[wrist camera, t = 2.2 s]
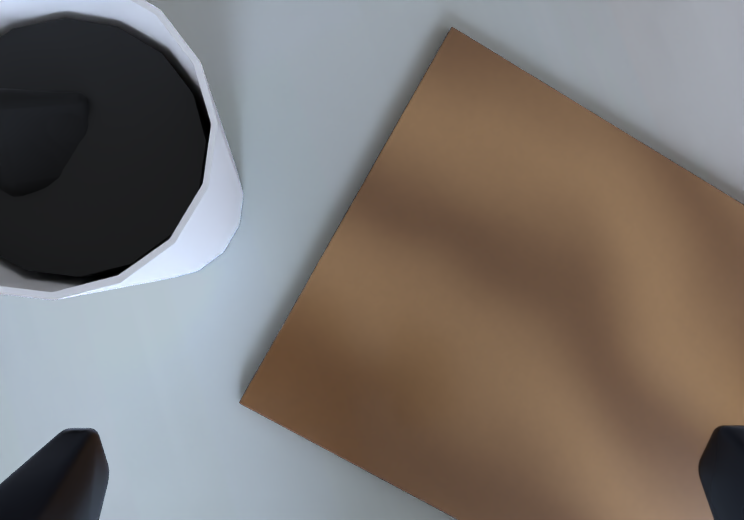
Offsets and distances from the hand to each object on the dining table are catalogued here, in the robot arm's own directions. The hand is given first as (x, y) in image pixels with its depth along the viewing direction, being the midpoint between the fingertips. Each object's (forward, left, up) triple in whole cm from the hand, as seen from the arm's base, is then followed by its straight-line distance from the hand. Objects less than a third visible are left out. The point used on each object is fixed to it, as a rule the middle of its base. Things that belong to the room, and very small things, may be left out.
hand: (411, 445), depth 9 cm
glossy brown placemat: (+4, -8, -14) cm, 16 cm away
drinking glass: (+1, +8, -14) cm, 16 cm away
